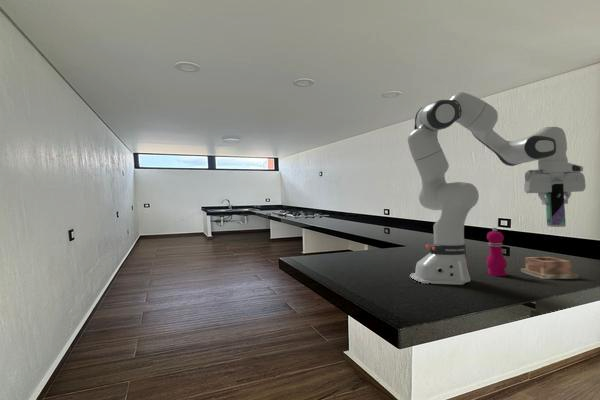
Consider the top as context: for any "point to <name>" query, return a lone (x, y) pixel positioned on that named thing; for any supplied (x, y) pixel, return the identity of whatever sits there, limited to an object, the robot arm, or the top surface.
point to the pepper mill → (496, 254)
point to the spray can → (556, 205)
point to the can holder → (549, 268)
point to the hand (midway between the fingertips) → (554, 204)
